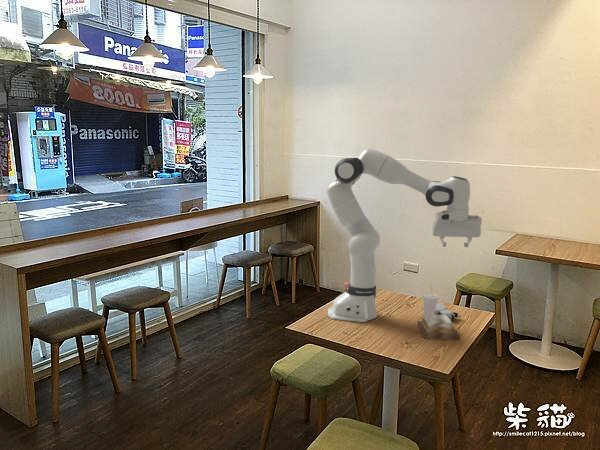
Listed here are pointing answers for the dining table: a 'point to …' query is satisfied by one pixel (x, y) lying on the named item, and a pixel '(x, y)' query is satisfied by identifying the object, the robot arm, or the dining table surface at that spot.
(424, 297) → the smoothie
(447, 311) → the robot toy
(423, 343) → the dining table surface
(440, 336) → the square stepped pedestal
